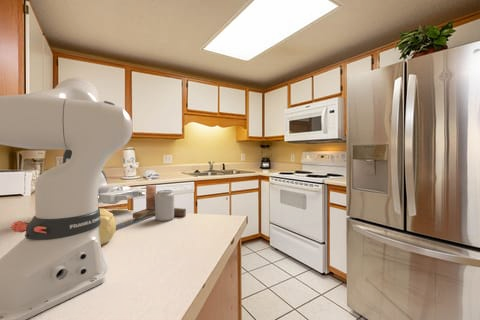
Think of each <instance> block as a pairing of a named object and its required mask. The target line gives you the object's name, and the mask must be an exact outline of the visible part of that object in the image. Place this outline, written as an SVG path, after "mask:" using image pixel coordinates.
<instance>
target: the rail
mask: <svg viewBox="0 0 480 320" xmlns="http://www.w3.org/2000/svg"><path fill="white" fill-rule="evenodd" d="M153 217H155V213H154V214H151V215H148V216H146V217H143V218H140V219H136V218H133V219H130V220H127V221H123V222H121V223H118V224H116V229H115V232H116V231H118V230H121V229H124V228H127V227H129V226H132V225H134V224H137V223H140V222H143V221H145V220H148V219H150V218H153Z"/></svg>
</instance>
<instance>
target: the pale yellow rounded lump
mask: <svg viewBox="0 0 480 320" xmlns="http://www.w3.org/2000/svg"><path fill="white" fill-rule="evenodd" d="M99 209H100V218H101V219H100V225H99V236H100V244H101V246H102V245H105V244H106V243H108V242H109V241H110V240H112V238H113V237H114V235H115V233H116V231H115V229H116V225H117V221H116V219H115V216H114V214H113V212H110V211H108V210H107V209H106V208H99Z"/></svg>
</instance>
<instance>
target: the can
mask: <svg viewBox="0 0 480 320" xmlns="http://www.w3.org/2000/svg"><path fill="white" fill-rule="evenodd" d="M174 208H175V194H174V193H173V190H172V189H161V190H156V195H155V216H154V218H155V220H157V221H159V222H167V221H172V219H173V218H174V217H175V216H174Z"/></svg>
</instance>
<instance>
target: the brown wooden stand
mask: <svg viewBox="0 0 480 320" xmlns="http://www.w3.org/2000/svg"><path fill="white" fill-rule="evenodd" d="M156 194H157V185H154V184H152V185H151V184H148V185H146V186H145V196H146V198H145V203H146V205H145V209H142V210H138V211H136V212H133V213H132V218H133V219H135V218H136V219H140V218H143V217H146V216H148V215H151V214H154V213H155V195H156ZM186 212H187V209H186V208H182V207H181V208H179V207H174V217H183V218H184V217H186V215H187V213H186Z"/></svg>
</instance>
